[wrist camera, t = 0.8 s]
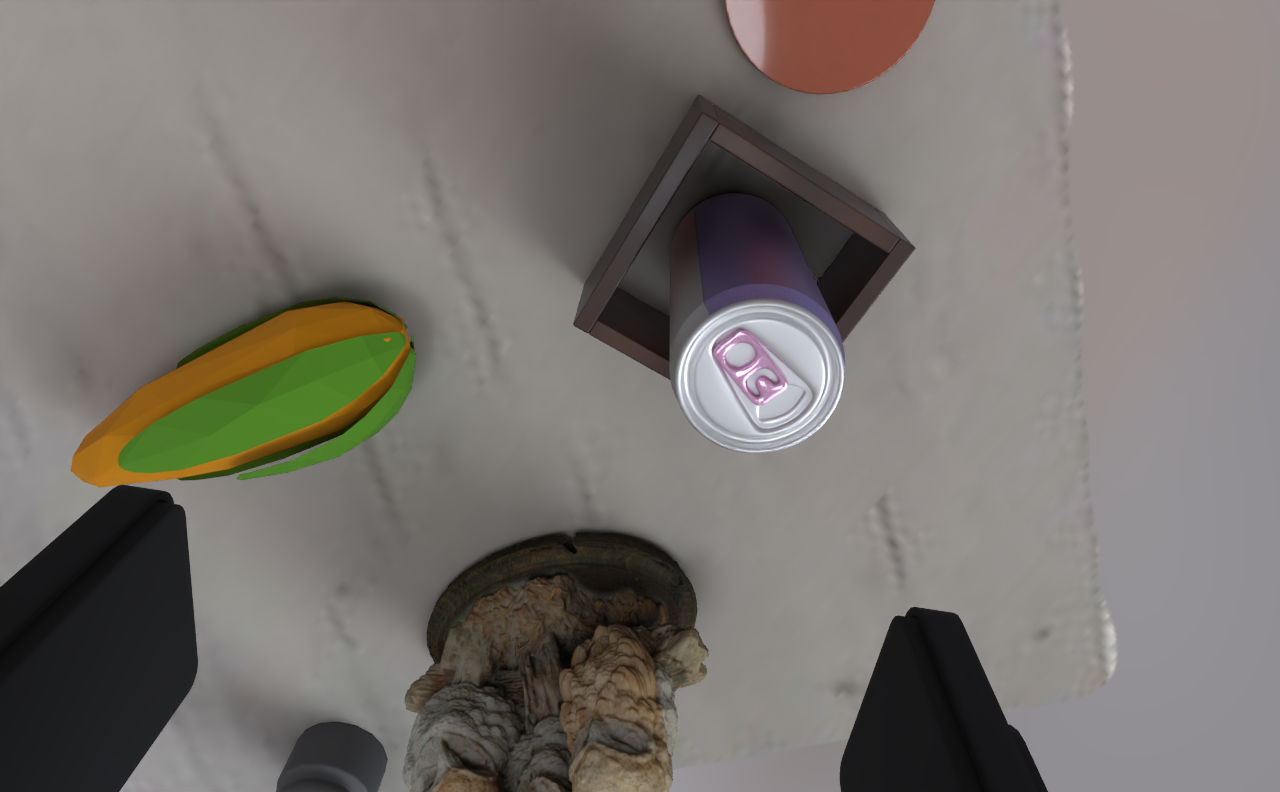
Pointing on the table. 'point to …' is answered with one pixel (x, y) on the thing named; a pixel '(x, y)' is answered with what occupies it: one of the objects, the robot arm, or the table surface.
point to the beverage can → (749, 329)
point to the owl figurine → (556, 671)
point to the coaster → (826, 39)
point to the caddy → (875, 238)
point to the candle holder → (334, 761)
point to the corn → (260, 398)
